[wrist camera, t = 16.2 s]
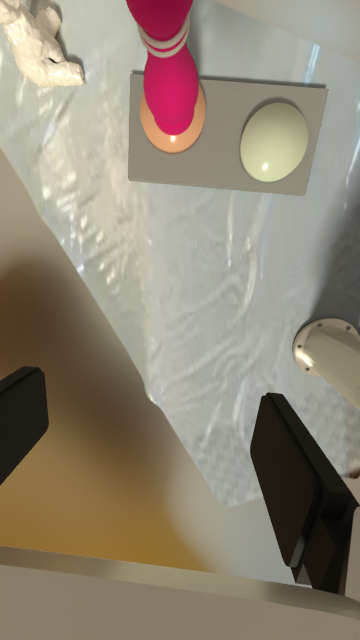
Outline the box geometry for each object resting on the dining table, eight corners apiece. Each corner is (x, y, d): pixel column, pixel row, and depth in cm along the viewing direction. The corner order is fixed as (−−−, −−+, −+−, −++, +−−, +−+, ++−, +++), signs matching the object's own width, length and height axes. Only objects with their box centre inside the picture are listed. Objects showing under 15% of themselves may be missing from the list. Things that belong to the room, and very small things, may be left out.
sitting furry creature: (89, 85, 34) (38, -6, 23) (46, 113, 35) (-24, 41, 24) (58, 14, 32) (-17, -126, 20) (13, 47, 33) (-82, -67, 22)
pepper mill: (161, 71, 31) (114, -241, 12) (206, 96, 32) (230, -165, 12) (142, 126, 33) (75, -67, 14) (184, 148, 33) (176, -7, 14)
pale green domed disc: (310, 112, 33) (315, 105, 31) (294, 185, 35) (299, 182, 34) (244, 107, 33) (247, 100, 31) (234, 180, 36) (236, 177, 34)
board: (323, 95, 33) (328, 89, 32) (301, 195, 37) (305, 193, 35) (132, 80, 34) (130, 73, 32) (129, 180, 37) (128, 178, 36)
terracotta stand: (208, 79, 32) (209, 71, 31) (200, 156, 35) (201, 152, 33) (143, 74, 32) (141, 66, 31) (140, 151, 35) (138, 146, 34)
